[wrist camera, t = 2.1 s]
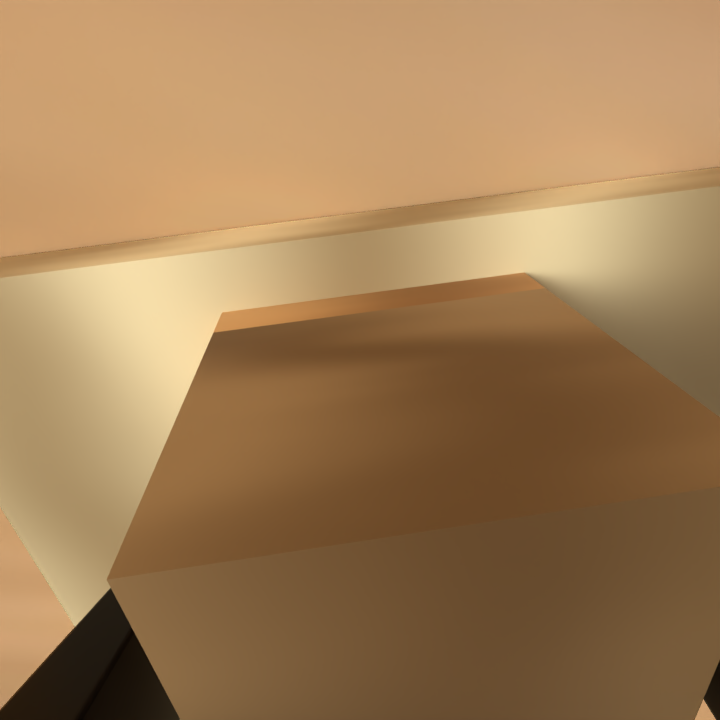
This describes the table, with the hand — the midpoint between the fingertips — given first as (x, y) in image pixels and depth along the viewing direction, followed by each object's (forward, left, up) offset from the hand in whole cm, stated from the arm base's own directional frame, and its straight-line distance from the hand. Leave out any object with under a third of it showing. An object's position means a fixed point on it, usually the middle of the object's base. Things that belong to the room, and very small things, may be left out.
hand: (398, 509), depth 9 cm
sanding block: (0, 0, -1) cm, 1 cm away
